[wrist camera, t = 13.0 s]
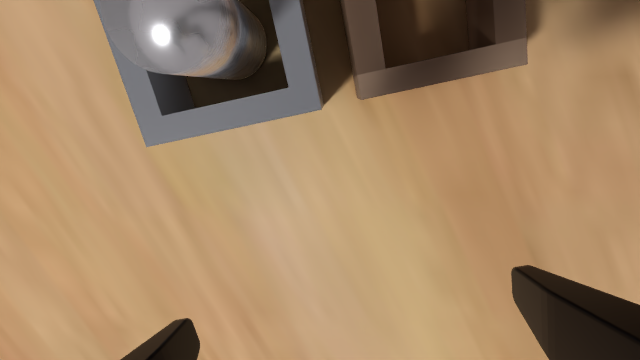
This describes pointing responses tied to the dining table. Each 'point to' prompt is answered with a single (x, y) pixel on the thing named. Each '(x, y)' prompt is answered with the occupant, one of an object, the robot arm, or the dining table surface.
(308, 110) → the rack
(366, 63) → the socket block
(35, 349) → the dining table surface
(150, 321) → the dining table surface
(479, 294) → the dining table surface
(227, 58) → the peg
